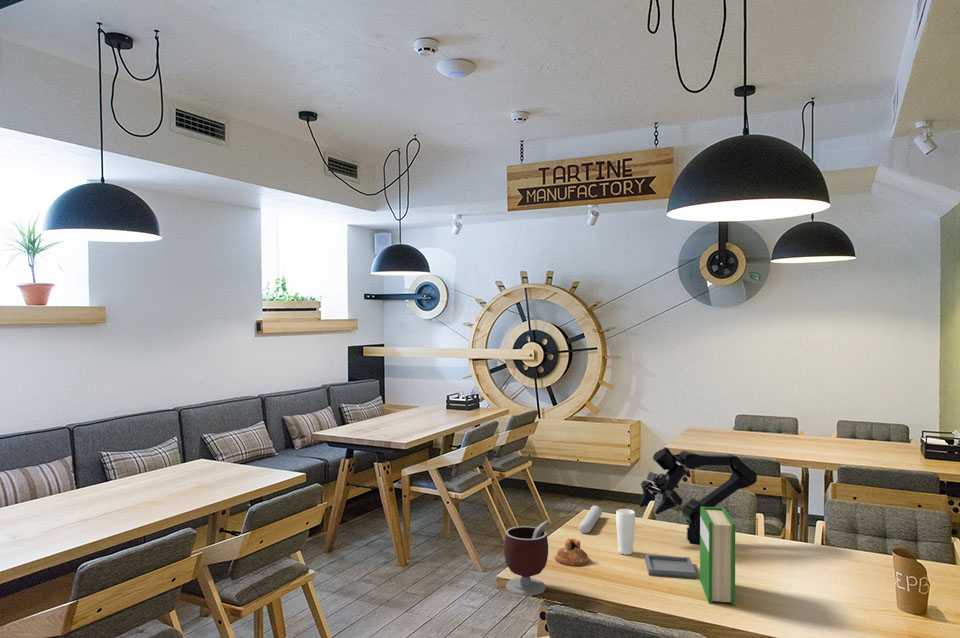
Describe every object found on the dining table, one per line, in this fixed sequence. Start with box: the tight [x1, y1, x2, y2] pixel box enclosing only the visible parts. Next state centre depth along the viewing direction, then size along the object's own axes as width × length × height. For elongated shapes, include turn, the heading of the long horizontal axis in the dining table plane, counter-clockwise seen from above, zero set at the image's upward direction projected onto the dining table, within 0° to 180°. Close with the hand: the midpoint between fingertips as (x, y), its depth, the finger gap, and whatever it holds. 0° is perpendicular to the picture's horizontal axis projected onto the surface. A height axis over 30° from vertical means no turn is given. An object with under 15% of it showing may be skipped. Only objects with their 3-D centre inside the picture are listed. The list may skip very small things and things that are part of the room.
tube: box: [578, 505, 603, 534], centre depth 262 cm, size 5×5×25 cm
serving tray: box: [644, 553, 697, 580], centre depth 214 cm, size 15×14×2 cm
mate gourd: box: [503, 519, 550, 597], centre depth 199 cm, size 16×14×20 cm
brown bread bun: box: [554, 537, 589, 567], centre depth 222 cm, size 12×12×7 cm
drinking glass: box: [615, 508, 636, 556], centre depth 230 cm, size 7×7×15 cm
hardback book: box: [699, 506, 736, 607], centre depth 196 cm, size 18×7×24 cm, turn 169°
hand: (647, 510), depth 236 cm, fingers open, 9 cm apart
